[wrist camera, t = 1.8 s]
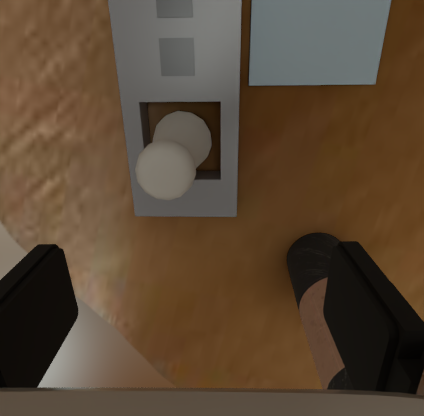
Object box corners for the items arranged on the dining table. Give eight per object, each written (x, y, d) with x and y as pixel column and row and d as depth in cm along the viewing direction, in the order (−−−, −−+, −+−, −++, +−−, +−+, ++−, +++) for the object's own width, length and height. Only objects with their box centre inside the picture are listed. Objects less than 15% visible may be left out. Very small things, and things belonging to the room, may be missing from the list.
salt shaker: (167, 99, 32) (132, 119, 20) (220, 119, 32) (216, 150, 20) (152, 152, 34) (113, 198, 22) (202, 170, 35) (189, 224, 23)
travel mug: (293, 225, 37) (358, 379, 19) (356, 235, 37) (480, 398, 19) (277, 277, 40) (320, 452, 22) (335, 286, 40) (425, 467, 22)
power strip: (109, -81, 26) (91, -104, 22) (241, -86, 26) (244, -109, 22) (142, 205, 37) (133, 219, 33) (235, 205, 36) (236, 220, 33)
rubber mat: (253, -71, 26) (254, -73, 25) (402, -75, 25) (406, -79, 25) (248, 85, 31) (248, 85, 30) (372, 83, 30) (375, 84, 30)
